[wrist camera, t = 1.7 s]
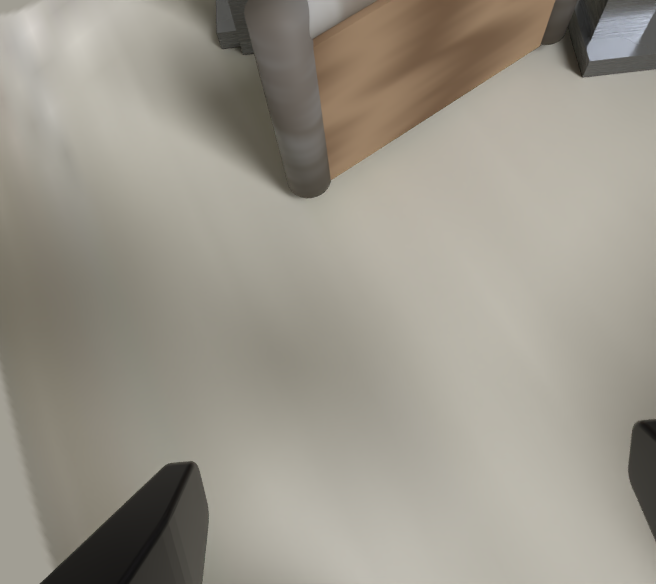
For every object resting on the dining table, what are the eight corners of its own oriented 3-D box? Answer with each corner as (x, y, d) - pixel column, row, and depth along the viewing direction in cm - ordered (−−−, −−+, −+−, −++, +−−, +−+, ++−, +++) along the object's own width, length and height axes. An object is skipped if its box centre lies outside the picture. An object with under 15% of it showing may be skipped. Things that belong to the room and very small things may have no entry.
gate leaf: (546, 6, 28) (618, -217, 19) (574, 31, 27) (661, -189, 19) (279, 175, 25) (232, 5, 17) (303, 205, 25) (266, 45, 17)
